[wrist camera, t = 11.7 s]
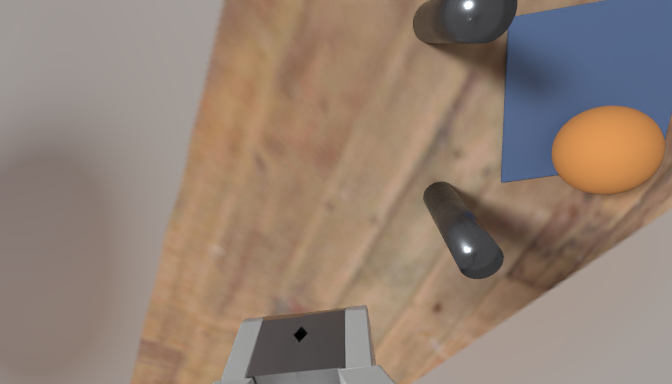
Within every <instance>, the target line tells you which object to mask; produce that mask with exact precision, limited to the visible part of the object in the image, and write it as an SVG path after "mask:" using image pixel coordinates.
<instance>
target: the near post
mask: <svg viewBox="0 0 672 384" xmlns="http://www.w3.org/2000/svg"><path fill="white" fill-rule="evenodd" d="M516 10H517V0H429V1H427V2H425V3H424V4H422V5H421V6H420V7H419V8H418V10H417V11H416V13H415V16H414V19H413V29H414V32H415V34H416V36H417V37H418V38H419V39H420V40H421V41H423V42H425V43H487V42H490V41H493V40H495V39H497V38H498V37H500V36H501V35H502V34H503V33H504V32H505V31H506V30H507V29H508V28H509V26H510V25H511V23H512V21H513V19H514V17H515V14H516Z"/></svg>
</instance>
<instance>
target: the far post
mask: <svg viewBox="0 0 672 384" xmlns="http://www.w3.org/2000/svg"><path fill="white" fill-rule="evenodd" d="M423 199H424V202H425V204H426V206H427V208H428V210H429V212H430V214H431V216H432V218H433V220H434V222H435V224H436V225H437V227H438V229H439V231H440V233H441V235H442V237H443V239H444V241H445V243H446V245H447V246H448V248H449V250H450V252H451V254H452V256H453V258H454V260H455V262H456V264H457V266H458V267H459V269H460V271H461V272H462V274H464V275H465V276H467V277H469V278H473V279H482V278H486V277H489V276H491V275H493V274H494V273H495V272H497V271H498V270H499V268H500V267H501V265H502V263H503V259H504V256H503V252H502V250H501V249H500V247H499V246H498V245H497V244H496V242H495V241H494V240H493V238H492V237H491V236H490V235H489V233H488V232H487V231H486V229H485V228H484V227H483V226H482V224H481V223H480V222H479V220H478V219H477V218H476V217H475V215H474V214H473V213H472V211H471V210H470V209H469V208H468V206H467V205H466V204H465V202H464V201H463V200H462V199H461V197H460V196H459V195H458V193H457V192H456V191H455V189H454V188H453V187H452V186H451V185H450V184H448V183H446V182H436V183H433V184H432V185H430V186H429V187H428V188H427V189H426V190H425V192H424V196H423Z"/></svg>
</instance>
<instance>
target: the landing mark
mask: <svg viewBox="0 0 672 384" xmlns="http://www.w3.org/2000/svg"><path fill="white" fill-rule="evenodd" d="M611 105H612V106H624V107H629V108H633V109H636V110H638V111H641V112H643V113H644V114H646V115H648V116H649V117H650V118H651V119H653V120H654V121H655V123H656V124H657V125H658V126H659V128H660V129H661V131H662V133H663V136H664V140H665V137H666V133H667V129H668V125H669V121H670V117H671V113H672V0H605V1H599V2H594V3H588V4H582V5H577V6H571V7H565V8H560V9H554V10H549V11H543V12H537V13H532V14H526V15H520V16H515V17H514V19H513V21H512V23H511V25H510V26H509V28H508V34H507V56H506V79H505V101H504V124H503V146H502V169H501V182H509V181H516V180H523V179H530V178H538V177H545V176H552V175H559V174H558V173H557V171H556V169H555V167H554V165H553V162H552V145H553V142H554V139H555V137H556V135H557V133H558V132H559V130H560V129H561V128H562V127H563V125H564V124H565V123H566V122H568V121H569V120H570V119H571V118H573V117H574V116H576V115H578V114H580V113H582V112H584V111H586V110H589V109H592V108H596V107H601V106H611Z"/></svg>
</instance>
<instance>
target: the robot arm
mask: <svg viewBox="0 0 672 384" xmlns="http://www.w3.org/2000/svg"><path fill="white" fill-rule="evenodd" d="M212 384H395V382H394V381H393V380H392V379H391V378H390V377H389V375H388V374H387V373H386V372H385V371H384V370H383V369H382V367H381V366H380V365H376V360H375V354H374V347H373V340H372V334H371V327H370V321H369V315H368V309H367V306H366V305H362V306H354V307H346V308H340V309H332V310H324V311H316V312H308V313H299V314H288V315H277V316H266V317H260V318H248V319H245V320H244V321H243V322H242V323H241V325H240V328H239V331H238V334H237V336H236V339H235V342H234V345H233V348H232V350H231V353H230V356H229V359H228V361H227V364H226V367H225V370H224V372H223V375H222V378H221V381H215V382H213V383H212Z"/></svg>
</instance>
